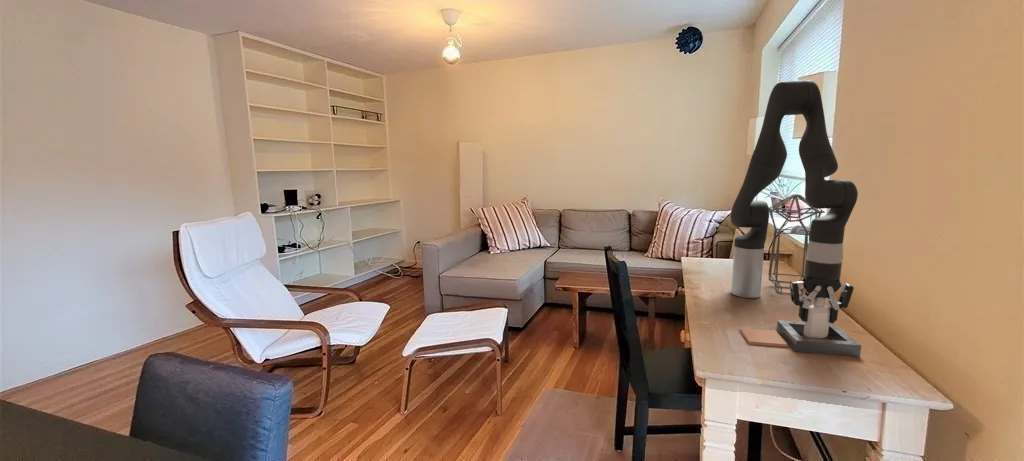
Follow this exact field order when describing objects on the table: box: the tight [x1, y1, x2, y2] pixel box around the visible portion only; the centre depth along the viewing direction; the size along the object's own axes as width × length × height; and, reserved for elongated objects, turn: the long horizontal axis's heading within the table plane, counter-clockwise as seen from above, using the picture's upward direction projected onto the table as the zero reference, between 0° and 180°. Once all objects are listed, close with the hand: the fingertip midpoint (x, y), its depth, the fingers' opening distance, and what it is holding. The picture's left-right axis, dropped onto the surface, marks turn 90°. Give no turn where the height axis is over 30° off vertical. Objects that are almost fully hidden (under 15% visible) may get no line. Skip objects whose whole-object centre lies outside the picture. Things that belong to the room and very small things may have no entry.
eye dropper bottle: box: [804, 297, 830, 339], centre depth 114 cm, size 4×6×12 cm
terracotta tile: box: [739, 328, 789, 348], centre depth 118 cm, size 9×9×1 cm
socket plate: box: [776, 319, 862, 358], centre depth 115 cm, size 14×14×3 cm
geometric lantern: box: [768, 193, 826, 296], centre depth 156 cm, size 16×16×35 cm
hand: (816, 321), depth 115 cm, fingers closed on eye dropper bottle, 5 cm apart
